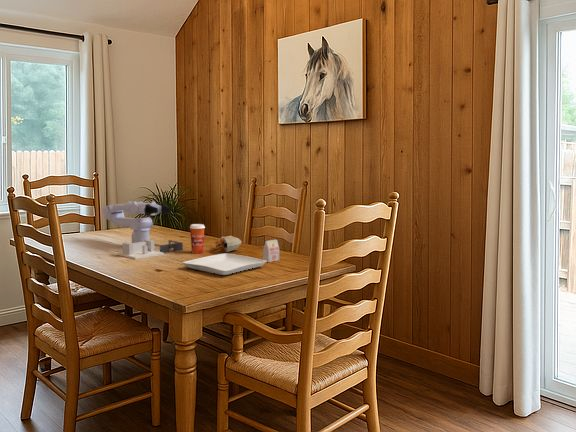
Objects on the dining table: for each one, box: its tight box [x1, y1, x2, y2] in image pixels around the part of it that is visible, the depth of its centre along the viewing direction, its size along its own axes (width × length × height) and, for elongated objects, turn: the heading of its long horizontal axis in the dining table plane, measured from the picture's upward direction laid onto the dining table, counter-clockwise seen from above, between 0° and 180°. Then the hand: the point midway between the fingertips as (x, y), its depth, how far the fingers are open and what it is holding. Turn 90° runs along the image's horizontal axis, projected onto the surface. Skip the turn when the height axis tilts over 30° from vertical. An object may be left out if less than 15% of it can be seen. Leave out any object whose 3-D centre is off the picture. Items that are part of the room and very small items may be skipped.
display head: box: [116, 239, 165, 260], centre depth 286 cm, size 16×16×6 cm
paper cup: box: [189, 223, 206, 255], centre depth 293 cm, size 8×8×14 cm
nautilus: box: [209, 235, 242, 255], centre depth 296 cm, size 8×22×15 cm
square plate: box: [181, 252, 267, 276], centre depth 258 cm, size 27×27×4 cm
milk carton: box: [262, 239, 280, 263], centre depth 273 cm, size 4×7×10 cm, turn 131°
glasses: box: [154, 239, 184, 254], centre depth 298 cm, size 12×13×4 cm
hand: (163, 210), depth 290 cm, fingers open, 7 cm apart
